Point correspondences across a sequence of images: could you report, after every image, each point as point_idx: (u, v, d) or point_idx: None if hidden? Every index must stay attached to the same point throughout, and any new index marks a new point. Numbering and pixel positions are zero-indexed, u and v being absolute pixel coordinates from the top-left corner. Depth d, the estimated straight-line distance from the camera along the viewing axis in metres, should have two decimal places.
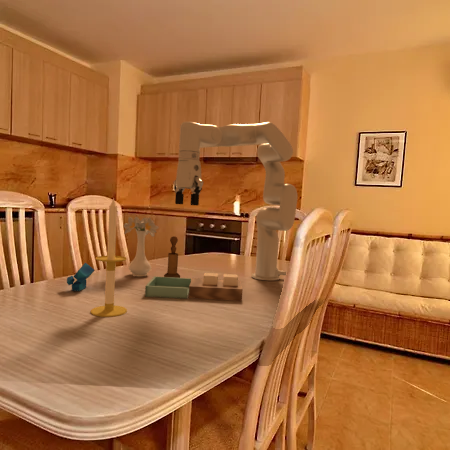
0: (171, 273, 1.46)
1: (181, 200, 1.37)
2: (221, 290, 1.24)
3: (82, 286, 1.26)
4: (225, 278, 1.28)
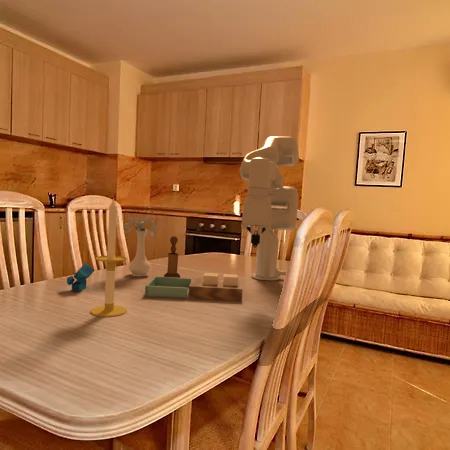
0: (171, 273, 1.46)
1: None
2: (221, 290, 1.24)
3: (82, 286, 1.26)
4: (225, 278, 1.28)
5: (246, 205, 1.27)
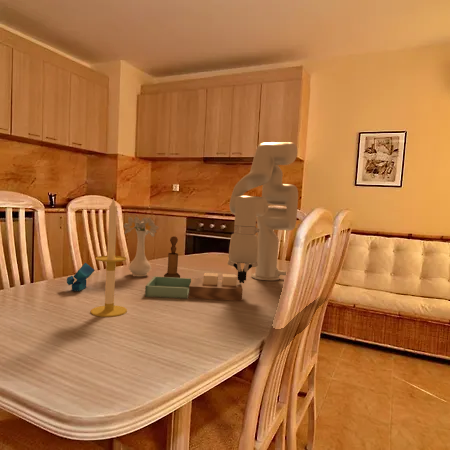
0: (171, 273, 1.46)
1: None
2: (221, 290, 1.24)
3: (82, 286, 1.26)
4: (224, 278, 1.28)
5: (232, 243, 1.27)
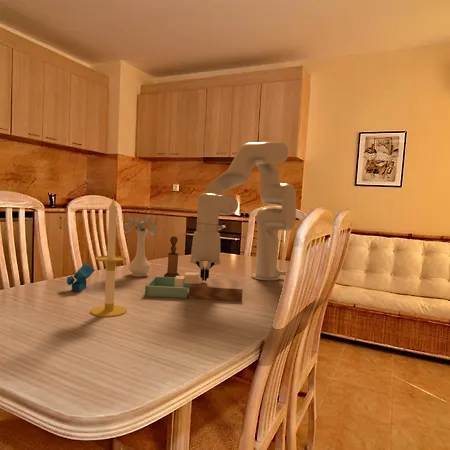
0: (171, 273, 1.46)
1: None
2: (221, 290, 1.24)
3: (82, 286, 1.26)
4: (186, 276, 1.27)
5: (194, 240, 1.27)
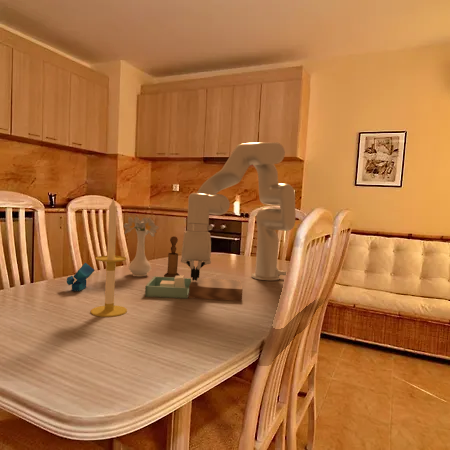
0: (171, 273, 1.46)
1: None
2: (221, 290, 1.24)
3: (82, 286, 1.26)
4: None
5: (185, 240, 1.27)
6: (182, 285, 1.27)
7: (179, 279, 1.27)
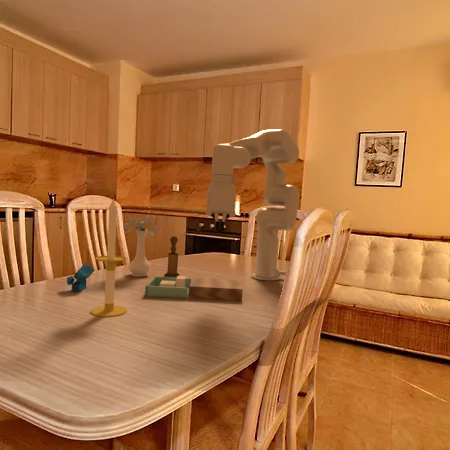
0: (171, 273, 1.46)
1: None
2: (221, 290, 1.24)
3: (82, 286, 1.26)
4: None
5: (209, 192, 1.26)
6: (183, 286, 1.27)
7: (181, 280, 1.27)
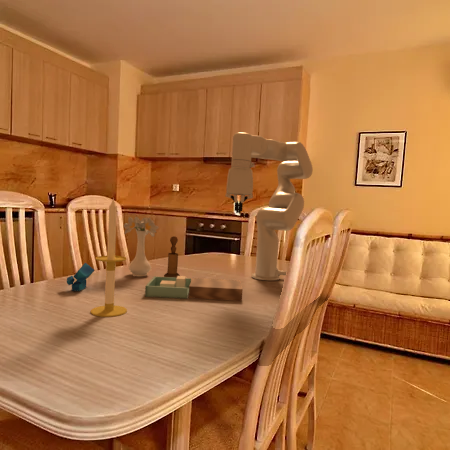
0: (171, 273, 1.46)
1: (238, 209, 1.44)
2: (221, 290, 1.24)
3: (82, 286, 1.26)
4: None
5: (230, 175, 1.40)
6: (183, 286, 1.27)
7: (181, 280, 1.27)
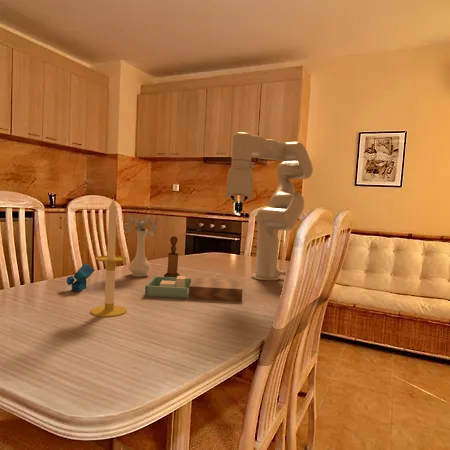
0: (171, 273, 1.46)
1: (238, 209, 1.44)
2: (221, 290, 1.24)
3: (82, 286, 1.26)
4: None
5: (230, 175, 1.40)
6: (183, 286, 1.27)
7: (181, 280, 1.27)
